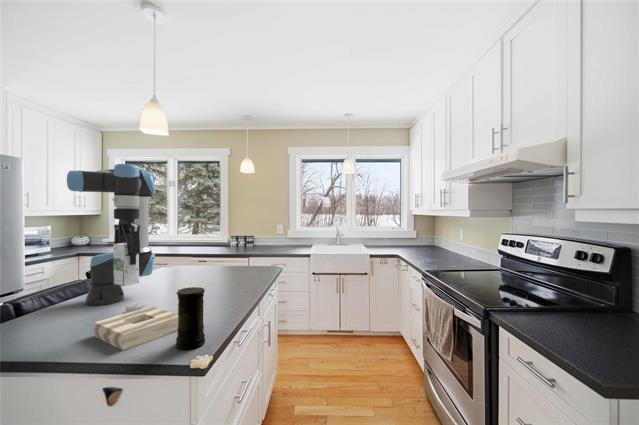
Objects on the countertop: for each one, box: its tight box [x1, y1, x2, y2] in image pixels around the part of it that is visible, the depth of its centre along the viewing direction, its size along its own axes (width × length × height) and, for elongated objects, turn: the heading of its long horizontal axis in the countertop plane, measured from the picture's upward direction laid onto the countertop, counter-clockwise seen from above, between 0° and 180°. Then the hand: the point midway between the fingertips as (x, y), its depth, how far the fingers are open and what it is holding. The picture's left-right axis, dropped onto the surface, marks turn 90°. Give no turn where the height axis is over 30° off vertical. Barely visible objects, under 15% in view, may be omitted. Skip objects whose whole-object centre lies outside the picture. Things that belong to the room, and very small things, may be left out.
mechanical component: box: [121, 302, 147, 315], centre depth 123 cm, size 10×4×10 cm
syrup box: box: [112, 243, 140, 287], centre depth 103 cm, size 6×6×14 cm
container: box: [175, 287, 206, 351], centre depth 96 cm, size 9×9×18 cm
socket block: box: [93, 306, 178, 351], centre depth 105 cm, size 20×20×5 cm
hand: (126, 272), depth 103 cm, fingers closed on syrup box, 6 cm apart
